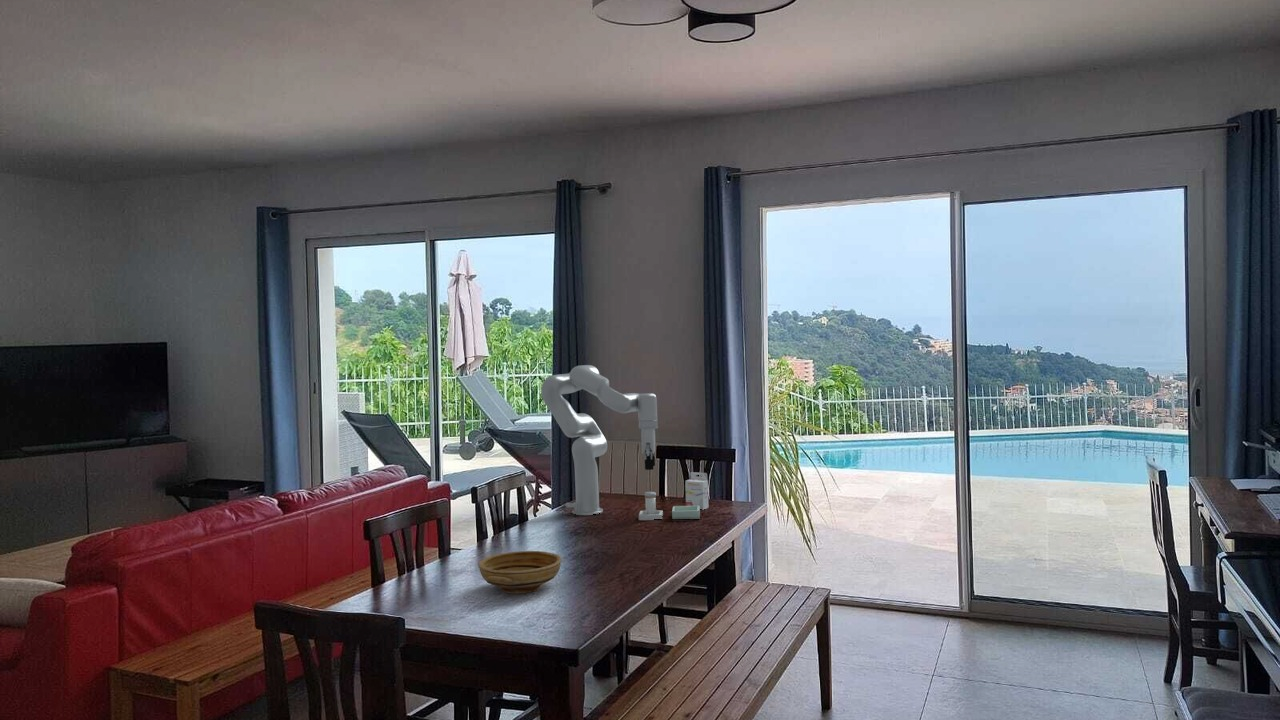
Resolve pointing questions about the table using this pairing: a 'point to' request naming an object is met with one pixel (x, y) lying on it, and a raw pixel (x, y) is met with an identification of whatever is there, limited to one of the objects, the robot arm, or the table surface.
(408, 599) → the table surface
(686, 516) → the tray
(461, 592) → the table surface
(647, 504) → the fuse
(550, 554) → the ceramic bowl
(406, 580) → the table surface
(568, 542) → the table surface
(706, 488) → the ink cartridge box
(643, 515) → the white square dish
